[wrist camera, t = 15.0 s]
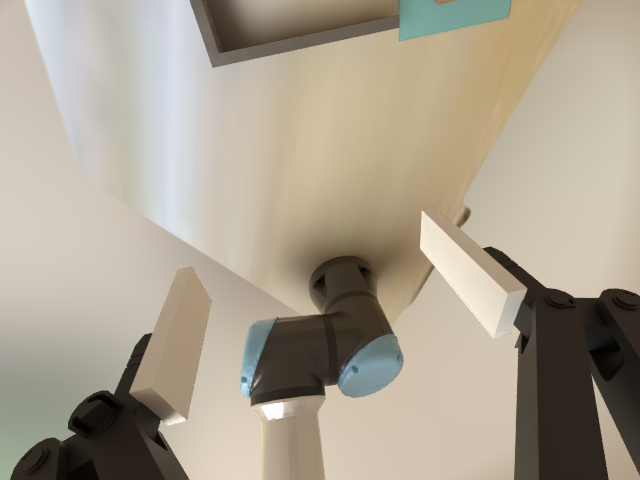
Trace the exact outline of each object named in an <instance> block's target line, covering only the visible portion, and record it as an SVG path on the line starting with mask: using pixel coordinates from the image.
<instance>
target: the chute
mask: <svg viewBox="0 0 640 480" xmlns="http://www.w3.org/2000/svg"><path fill="white" fill-rule="evenodd" d="M190 3H191V6H192V9H193V11H194V14H195V17H196V20H197V23H198V26H199V29H200V32H201V35H202V38H203V41H204V44H205V47H206V49H207V52H208V55H209V58H210V61H211V64H212V67H213V68H214V67H218V66H223V65H228V64H232V63H237V62H242V61H246V60H251V59H255V58H260V57H265V56H269V55H274V54H279V53H283V52H288V51H293V50H297V49H302V48H307V47H311V46H316V45H321V44H325V43H330V42H334V41H339V40H344V39H348V38H353V37H358V36H362V35H367V34H372V33H376V32H381V31H386V30H390V29H395V28H400V15H397V16H393V17H388V18H383V19H379V20H374V21H369V22H364V23H360V24H355V25H350V26H346V27H341V28H336V29H332V30H327V31H322V32H318V33H313V34H308V35H303V36H299V37H294V38H289V39H285V40H280V41H275V42H271V43H266V44H261V45H257V46H252V47H247V48H242V49H238V50H233V51H228V52H224V53H223V50H222V46H221V43H220V40H219V37H218V34H217V30H216V27H215V24H214V21H213V18H212V15H211V11H210V8H209V5H208V2H207V0H190Z"/></svg>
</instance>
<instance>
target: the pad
mask: <svg viewBox="0 0 640 480" xmlns="http://www.w3.org/2000/svg"><path fill="white" fill-rule="evenodd" d="M510 3H511V0H456V1H452V2H449V3H445V4H436V2H435V0H399V15H400V28H399V41H403V40H407V39H412V38H416V37H421V36H426V35H430V34H435V33H439V32H444V31H449V30H453V29H458V28H462V27H467V26H472V25H476V24H481V23H486V22H490V21H495V20H499V19H504V18H508V14H509V9H510Z"/></svg>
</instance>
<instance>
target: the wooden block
mask: <svg viewBox="0 0 640 480" xmlns="http://www.w3.org/2000/svg"><path fill="white" fill-rule="evenodd" d="M452 1H456V0H435V2H436V4H445V3H449V2H452Z"/></svg>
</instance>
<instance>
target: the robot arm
mask: <svg viewBox="0 0 640 480" xmlns="http://www.w3.org/2000/svg"><path fill="white" fill-rule="evenodd" d="M420 249H421V250H422V251H423V253H424V254H425V255H426V256H427V257H428V259H429V260H430V261H431V262H432V264H433V265H434V266H435V267H436V268H437V270H438V271H439V272H440V273H441V275H442V276H443V277H444V278H445V280H447V282H448V283H449V284H450V286H451V287H452V288H453V289H454V291H455V292H456V293H457V294H458V295H459V297H460V298H461V299H462V300H463V301H464V303H465V304H466V305H467V307H468V308H469V309H470V310H471V311H472V313H473V314H474V315H475V316H476V317H477V319H478V320H479V321H480V322H481V324H482V325H483V326H484V327H485V329H486V330H487V331H488V332H489V334H490V335H491V336H492V337H493V338H496V337H500V336H504V335H508V334H511V331H512V328H513V325H515V327H516V328H517V329H518V330H519V331H520V335H519V337H518V340H517V342H516V345H515V348H519V349H518V350H519V351H518V380H517V410H516V412H517V413H516V443H515V473H514V480H609V479H608V473H607V467H606V461H605V455H604V449H603V443H602V437H601V431H600V424H599V418H598V412H597V406H596V400H595V394H594V388H593V381H592V376H593V378H594V381H595V382H596V385H597V387H598V389H599V391H600V393H601V395H602V397H603V399H604V401H605V404H606V405H607V408H608V410H609V412H610V414H611V416H612V418H613V420H614V422H615V424H616V427H617V429H618V431H619V432H620V435H621V437H622V439H623V441H624V443H625V445H626V448H627V450H628V451H629V454H630V456H631V458H632V460H633V462H634V464H635V466H636V468H637V471H638V472H639V475H640V296H639V295H637V294H636V293H632V292H630V291H627V290H622V289H607V290H604V291H603V292H602V293H601V295H600V297H599V298H574V297H573V296H571V295H569V294H568V293H566V292H563V291H560V290H557V289H550V288H546V287H544V286H543V285H542V284H541V283H540V282H538V281H537V280H536V279H535V278H533V277H532V276H531V275H530V274H528V273H527V272H526V271H525V270H524V269H522V268H521V267H520V266H518V264H516V263H515V262H514V261H513V260H511V259H510V258H509V257H508V256H507V255H505V254H504V253H503V252H502V251H499V250H497V249H495V248H492V247H486V248H481V247H480V246H479V245H477V244H476V243H475V242H474V241H473V240H472V239H471V238H470V237H468V236H467V235H466V234H465V233H464V232H463V231H461V229H459V228H458V227H457V226H456V225H455V224H454V223H453V222H451V221H450V220H449V219H448V218H447V217H446V216H445V215H443V214H442V213H441V212H440V211H439V210H438V209H437V208H436V207H432V208H428V209H424V210H422V219H421V240H420ZM309 291H310V296H311V299H312V301H313V303H314V304H315V306H316V307H317V309H318V310H319V311H320V313H321V315H320V314H319V315H308V316H297V317H286V318H278V317H275V318H273V319H267V320H260V321H257V322H255V323H253V324H252V326H251V327H250V329H249V331H248V334H247V338H246V342H245V348H244V353H243V360H242V369H241V375H242V376H241V394H242V396H244V397H246V398H250V397H251V411H252V412H253V413H254V414H255V415H256V416H257V417H258V418H259V419H260V421H261V452H262V453H261V457H262V458H261V460H262V462H261V463H262V480H325V475H324V466H323V457H322V447H321V439H320V429H319V421H318V411H319V408H320V407H321V406H322V404H323V402H324V401H325V399H326V397H325V388H324V386H330V385H336V384H337V385H338V387H339V389H340V390H341V392H342V393H343V394H344V395H345V396H350V397H353V398H356V397H363V396H367V395H370V394H372V393H375V392H377V391H379V390H381V389H383V388H384V387H386V386H387V385H388V384H390V383H391V382H392V381H393V380H394V379H395V378H396V377H397V376H398V374H399V373H400V371H401V369H402V366H403V355H402V352H401V349H400V347H399V344H398V340H397V337H396V336H395V335H394V333H393V331H392V329H391V326H390V324H389V322H388V320H387V318H386V316H385V314H384V312H383V310H382V308H381V306H380V304H379V302H378V299H377V282H376V277H375V274H374V272H373V270H372V268H371V267H370V265H369V264H368V263H367V262H365V261H364V260H362V259H359V258H356V257H339V258H335V259H332V260H330V261H328V262H326V263H324V264H323V265H321V266H320V267H319V268H318V269H317V270H316V271H315V272H314V273H313V275H312V277H311V279H310V282H309ZM211 302H212V300H211V298H210V297H209V295H208V293H207V292H206V290H205V288H204V286H203V285H202V283H201V281H200V280H199V278H198V276H197V275H196V273H195V271H194V270H193V268H192V267H188V268H183V269H179V270H178V271H177V273H176V275H175V278H174V281H173V283H172V286H171V288H170V291H169V293H168V296H167V298H166V301H165V303H164V306H163V308H162V311H161V313H160V316H159V318H158V321H157V323H156V326H155V328H154V331H153V333H150V334H146V335H144V336H143V337H142V338H141V339H140V341H139V342H138V343H137V344H136V346H135V348H134V350H133V353H132V355H131V359H129V362H128V364H127V368H125V370H124V373H123V375H122V377H121V380H120V382H119V384H118V387H117V389H116V391H115V393H114V395H113V394H111V393H110V392H109V391H99V392H96V393H94V394H92V395H90V396H89V397H87V398H86V399H85V400H84V401H83V402H82V403H80V404H79V405H78V406H77V408H76V409H75V410H74V412H73V413H72V415H71V417H70V419H69V421H68V429H69V430H71V431H73V432H75V433H76V434H75V435H73V436H71V437H70V438H68V439H66V440H64V441H60V440H58V439H56V438H47V439H45V440H43V441H41V442H39V443H37V444H36V445H35V446H34V447H32V448H31V449H30V450H29V451H28V452H27V453H26V454H25V455H24V456H23V457H22V458H21V459H20V461H19V462H18V464H17V465H16V467H15V468H14V471H13V473H12V476H11V479H10V480H189V478H188V477H187V475H186V473H185V471H184V470H183V468H182V466H181V465H180V463H179V461H178V460H177V458H176V457H175V455H174V453H173V451H172V450H171V448H170V446H169V445H168V443H167V441H166V440H165V438H164V436H163V435H162V433H161V432H160V431H158V427H159V424H160V420H162V421H163V422H164V423H165V424H167V425H168V426H169V425H172V424H176V423H180V422H184V421H187V418H188V412H189V408H190V403H191V398H192V393H193V389H194V384H195V379H196V374H197V370H198V365H199V360H200V355H201V350H202V345H203V341H204V336H205V331H206V326H207V322H208V317H209V311H210V307H211ZM518 346H519V347H518ZM591 374H592V375H591Z"/></svg>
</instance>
